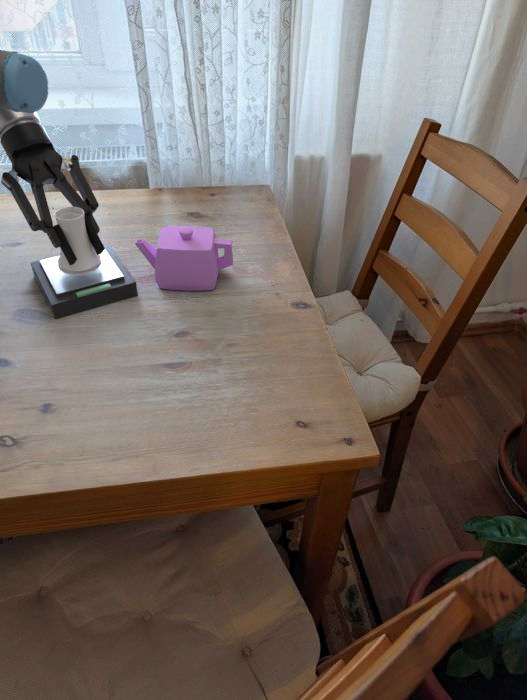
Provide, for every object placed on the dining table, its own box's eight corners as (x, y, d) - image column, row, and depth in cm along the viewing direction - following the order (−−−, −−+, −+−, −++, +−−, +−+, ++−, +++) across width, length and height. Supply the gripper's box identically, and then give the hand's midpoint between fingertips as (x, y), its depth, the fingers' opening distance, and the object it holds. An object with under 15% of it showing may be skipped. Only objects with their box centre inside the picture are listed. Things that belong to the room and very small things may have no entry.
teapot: (135, 290, 97) (128, 242, 90) (144, 260, 105) (138, 213, 98) (231, 294, 98) (232, 246, 91) (233, 263, 106) (234, 217, 99)
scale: (55, 319, 90) (50, 302, 88) (34, 275, 100) (29, 259, 97) (138, 295, 96) (135, 279, 94) (110, 256, 106) (108, 240, 103)
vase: (57, 255, 96) (45, 205, 90) (99, 250, 98) (90, 201, 92) (59, 278, 91) (46, 226, 84) (103, 272, 93) (94, 221, 86)
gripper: (64, 132, 96) (125, 247, 98) (-34, 154, 87) (35, 281, 89) (73, 110, 90) (137, 233, 92) (-33, 131, 80) (42, 268, 83)
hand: (87, 256), depth 91 cm, fingers closed on vase, 5 cm apart
